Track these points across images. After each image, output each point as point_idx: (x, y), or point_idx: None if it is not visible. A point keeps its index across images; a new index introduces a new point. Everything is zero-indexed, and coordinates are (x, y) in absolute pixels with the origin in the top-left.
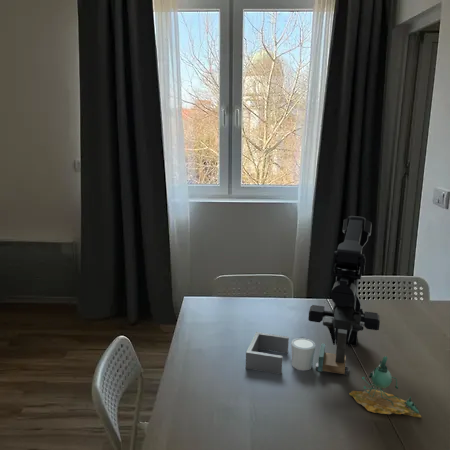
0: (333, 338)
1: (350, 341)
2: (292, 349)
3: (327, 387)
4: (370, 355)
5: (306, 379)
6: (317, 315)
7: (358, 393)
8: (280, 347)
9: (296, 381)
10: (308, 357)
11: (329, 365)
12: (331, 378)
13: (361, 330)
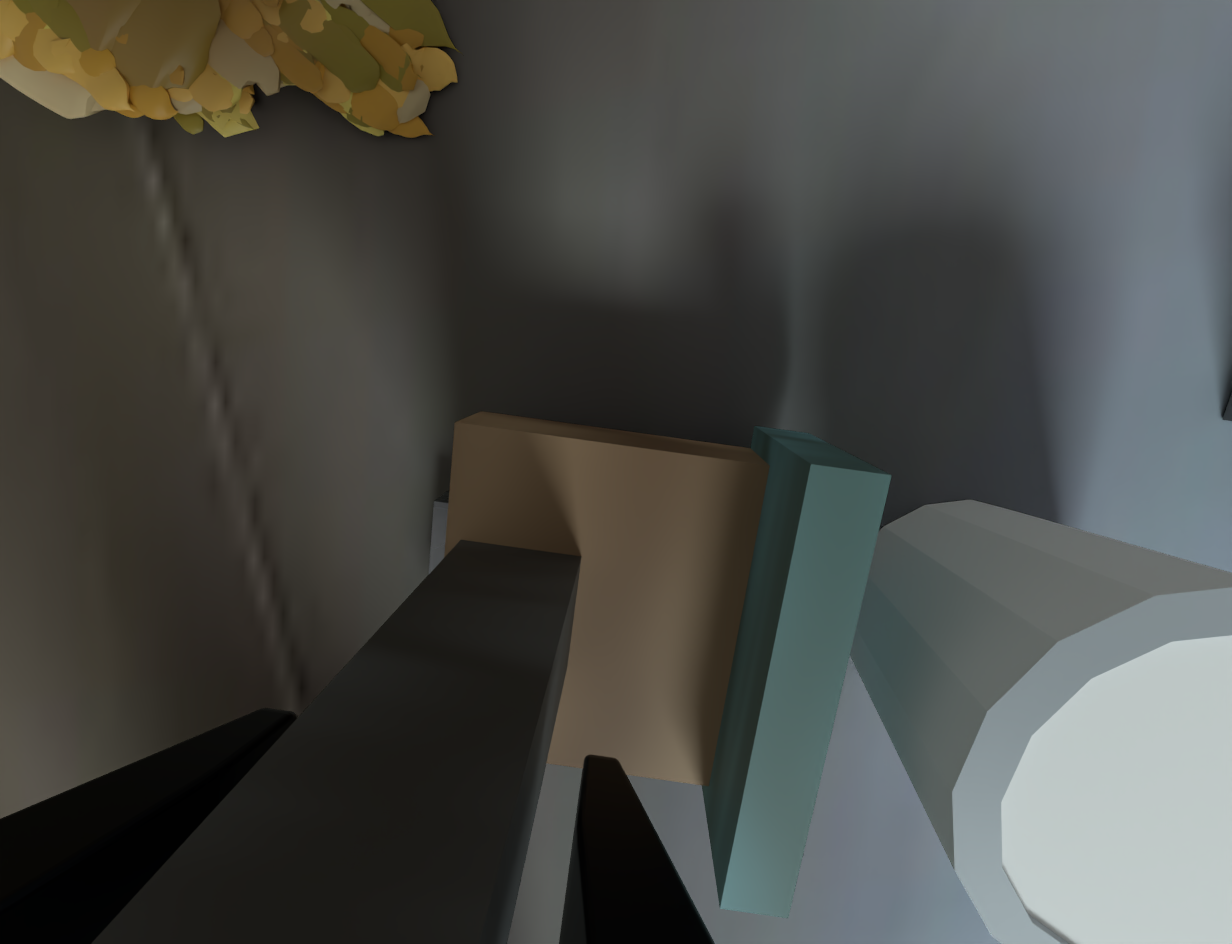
0: (625, 876)
1: (113, 789)
2: None
3: (702, 171)
4: None
5: (936, 308)
6: None
7: (338, 35)
8: None
9: (1068, 238)
10: (998, 560)
11: (674, 450)
12: (637, 383)
13: None
